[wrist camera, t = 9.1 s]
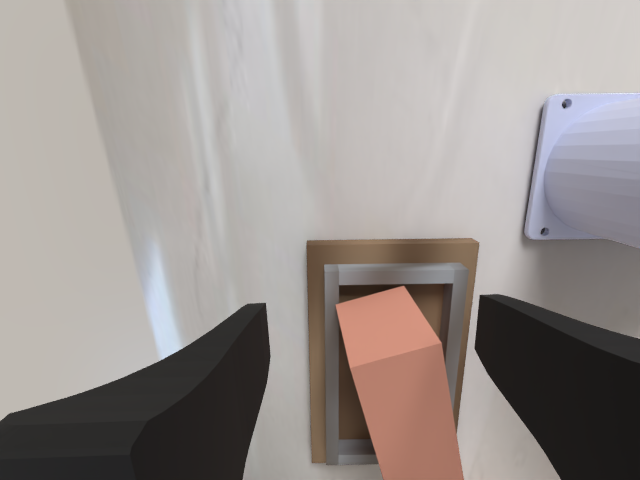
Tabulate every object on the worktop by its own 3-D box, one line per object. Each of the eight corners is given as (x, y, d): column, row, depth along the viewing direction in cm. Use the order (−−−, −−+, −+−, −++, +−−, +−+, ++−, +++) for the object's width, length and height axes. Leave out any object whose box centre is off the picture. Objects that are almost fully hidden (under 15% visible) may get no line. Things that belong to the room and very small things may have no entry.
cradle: (471, 238, 20) (489, 248, 18) (447, 448, 24) (460, 476, 22) (307, 240, 20) (306, 251, 18) (312, 450, 24) (311, 479, 22)
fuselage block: (403, 285, 18) (441, 342, 14) (428, 411, 22) (465, 490, 17) (335, 304, 19) (349, 367, 14) (371, 426, 22) (392, 509, 18)
